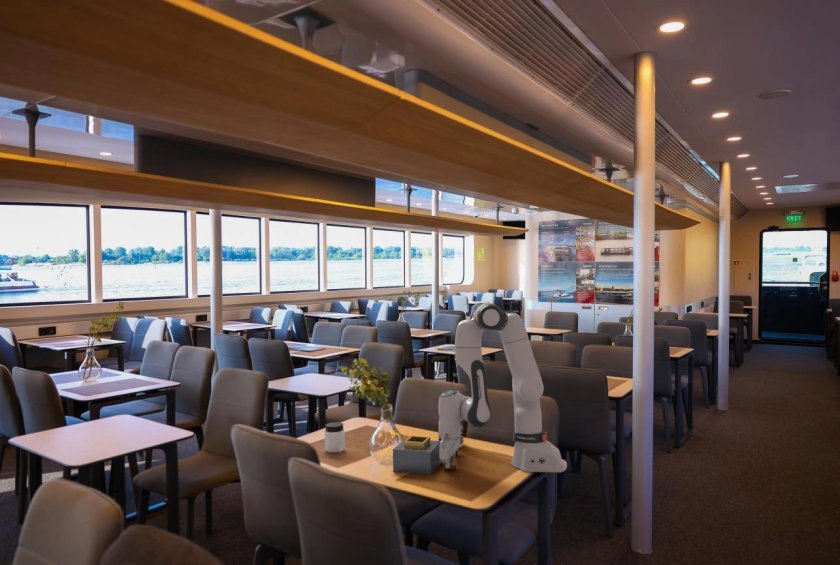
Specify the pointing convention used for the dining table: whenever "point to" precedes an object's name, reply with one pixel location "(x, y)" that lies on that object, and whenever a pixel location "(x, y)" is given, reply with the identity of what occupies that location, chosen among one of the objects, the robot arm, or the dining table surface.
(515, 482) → the dining table surface
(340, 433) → the jar
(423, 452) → the blue-grey block
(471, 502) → the dining table surface
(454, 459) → the brown ball
